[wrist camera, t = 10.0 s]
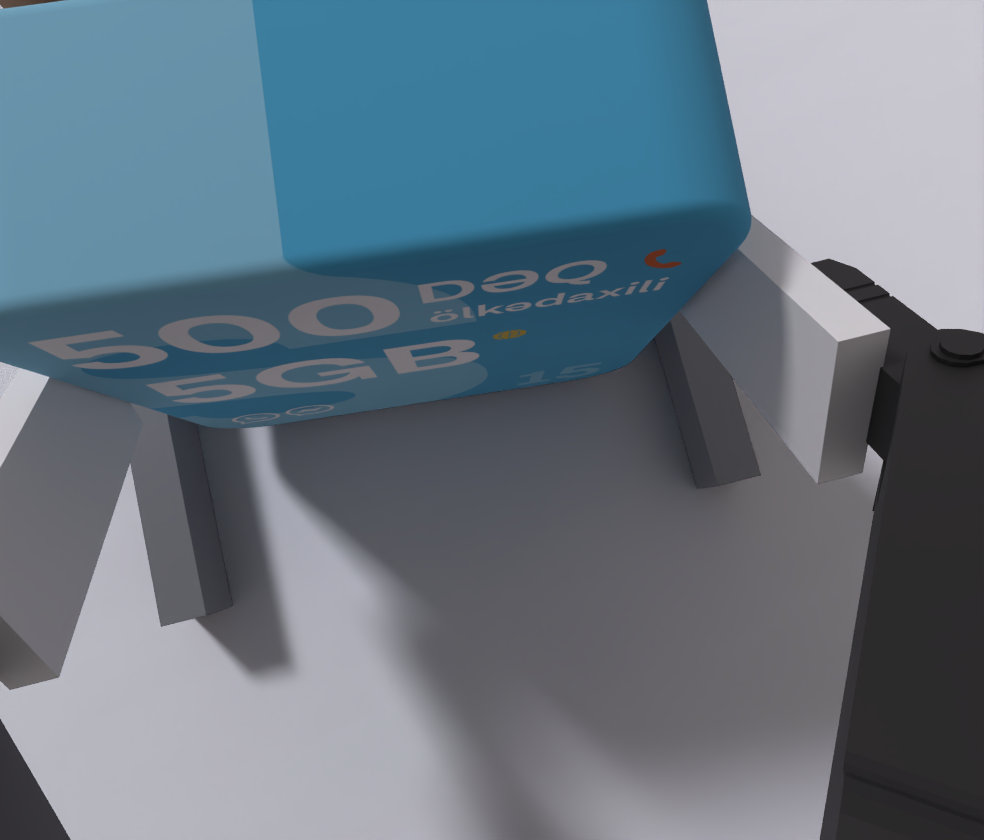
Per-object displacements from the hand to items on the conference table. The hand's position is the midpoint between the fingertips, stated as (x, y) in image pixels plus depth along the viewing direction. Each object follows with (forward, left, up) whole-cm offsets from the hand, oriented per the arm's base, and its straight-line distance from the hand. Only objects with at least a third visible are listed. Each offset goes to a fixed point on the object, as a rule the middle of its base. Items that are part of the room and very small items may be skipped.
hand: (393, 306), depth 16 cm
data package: (0, +1, -6) cm, 6 cm away
